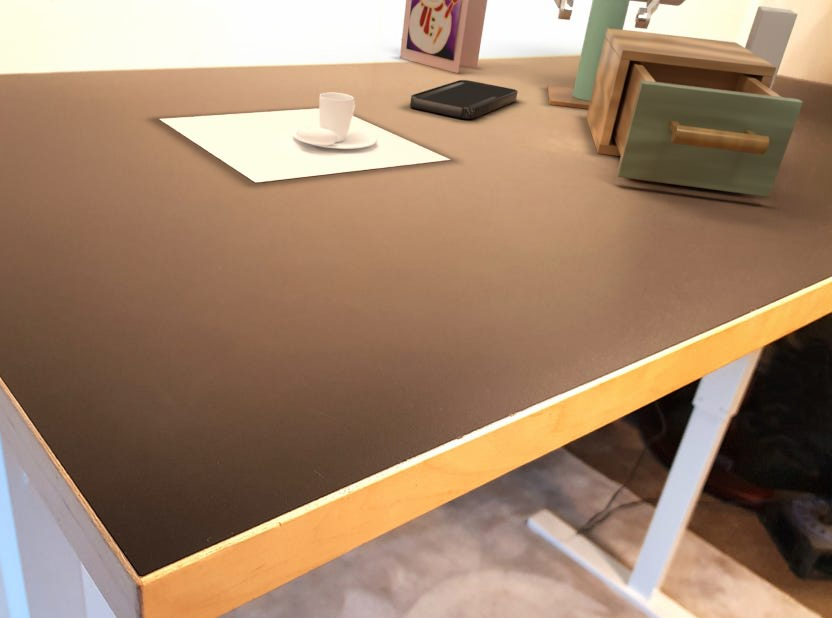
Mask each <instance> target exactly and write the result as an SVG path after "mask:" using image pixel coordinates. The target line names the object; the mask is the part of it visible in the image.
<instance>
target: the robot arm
mask: <svg viewBox="0 0 832 618" xmlns="http://www.w3.org/2000/svg"><path fill="white" fill-rule="evenodd" d="M630 1H631V2H641V3H645V4H646V5H645V7H639V8H638V10H637V13H636V15H635V20H634V29H635V28H636V29H643V30H645V29H646V30H647V29H648V28H649V25H650V22H651V17H652V15H654V13H655V12H656V11H657V10H658V8H659V6H660V5H667V6H676V7H678V6H682V4H684V3H685V2H686V1H687V0H630ZM630 1H629V2H630ZM553 2H554V3H555V5H556V7H557V9H558V15H557V19H558V20H564V21H565V20H566V21H570V20H571V17H572V13H573V7H574V0H553Z"/></svg>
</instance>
